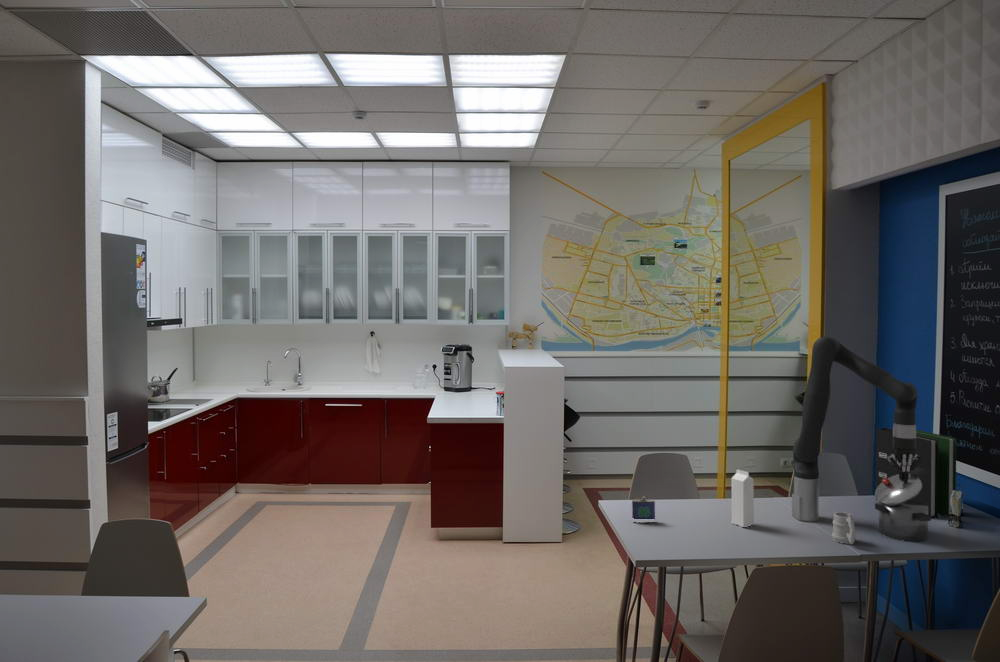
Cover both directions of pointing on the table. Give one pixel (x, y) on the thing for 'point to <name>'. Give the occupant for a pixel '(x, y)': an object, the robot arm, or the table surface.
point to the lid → (899, 488)
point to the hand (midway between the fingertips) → (903, 480)
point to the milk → (742, 499)
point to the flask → (643, 509)
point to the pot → (904, 520)
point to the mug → (843, 528)
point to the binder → (924, 467)
